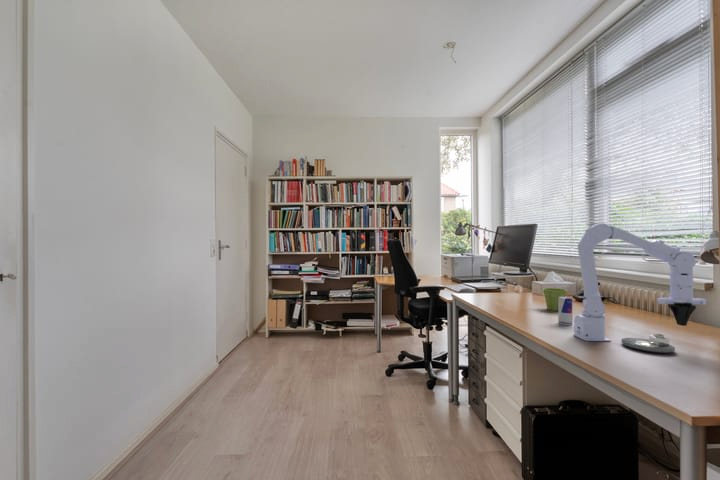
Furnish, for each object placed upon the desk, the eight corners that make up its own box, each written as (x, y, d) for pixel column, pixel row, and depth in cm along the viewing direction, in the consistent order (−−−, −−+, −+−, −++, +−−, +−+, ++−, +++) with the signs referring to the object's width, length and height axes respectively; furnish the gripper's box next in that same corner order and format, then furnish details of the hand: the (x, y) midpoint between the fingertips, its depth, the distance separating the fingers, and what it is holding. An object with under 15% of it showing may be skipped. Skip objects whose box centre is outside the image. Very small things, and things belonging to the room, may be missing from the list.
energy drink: (572, 326, 143) (572, 298, 143) (558, 324, 146) (558, 297, 146) (572, 323, 148) (572, 297, 148) (558, 321, 150) (558, 296, 150)
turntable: (642, 354, 107) (642, 350, 107) (611, 341, 121) (611, 337, 121) (687, 355, 106) (687, 350, 106) (650, 342, 120) (650, 338, 120)
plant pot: (567, 309, 179) (567, 288, 179) (567, 313, 169) (567, 291, 169) (542, 306, 185) (542, 287, 185) (541, 310, 175) (541, 289, 175)
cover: (657, 346, 111) (657, 336, 111) (645, 341, 116) (645, 332, 116) (673, 346, 110) (673, 336, 110) (660, 341, 116) (660, 332, 116)
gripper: (670, 287, 109) (670, 327, 109) (715, 287, 109) (715, 328, 109) (652, 284, 116) (652, 322, 116) (694, 284, 116) (694, 323, 116)
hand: (681, 325), depth 113 cm, fingers closed
